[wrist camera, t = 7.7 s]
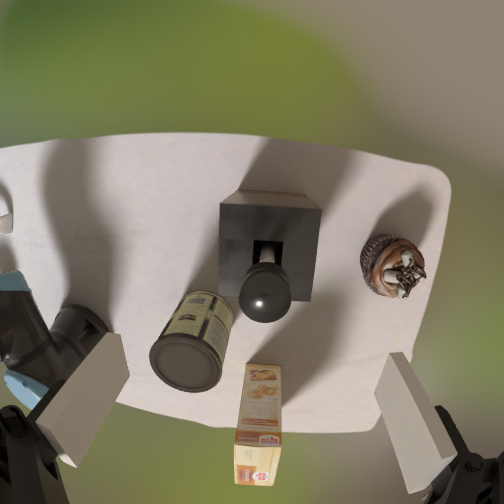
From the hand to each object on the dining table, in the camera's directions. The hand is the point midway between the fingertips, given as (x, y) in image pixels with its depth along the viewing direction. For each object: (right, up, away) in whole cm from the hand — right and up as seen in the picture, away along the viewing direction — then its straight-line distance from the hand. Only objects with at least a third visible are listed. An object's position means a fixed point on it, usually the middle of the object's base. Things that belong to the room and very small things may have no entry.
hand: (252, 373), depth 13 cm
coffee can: (-8, -6, +37) cm, 38 cm away
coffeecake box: (+2, -23, +41) cm, 47 cm away
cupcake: (+21, +5, +32) cm, 38 cm away
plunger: (+2, +8, +27) cm, 28 cm away
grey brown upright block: (+3, +10, +31) cm, 33 cm away
